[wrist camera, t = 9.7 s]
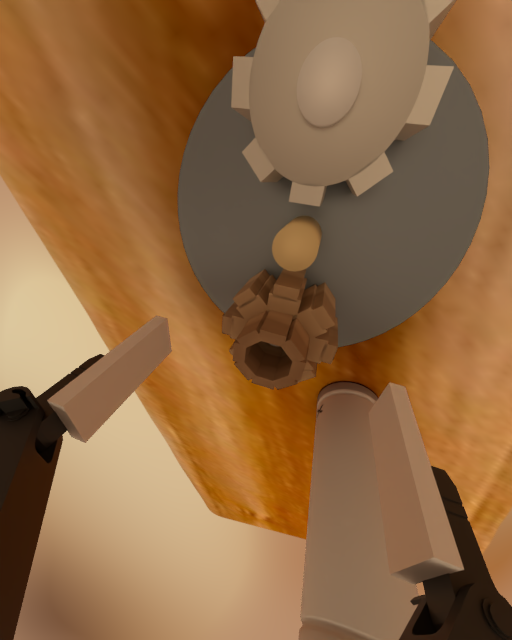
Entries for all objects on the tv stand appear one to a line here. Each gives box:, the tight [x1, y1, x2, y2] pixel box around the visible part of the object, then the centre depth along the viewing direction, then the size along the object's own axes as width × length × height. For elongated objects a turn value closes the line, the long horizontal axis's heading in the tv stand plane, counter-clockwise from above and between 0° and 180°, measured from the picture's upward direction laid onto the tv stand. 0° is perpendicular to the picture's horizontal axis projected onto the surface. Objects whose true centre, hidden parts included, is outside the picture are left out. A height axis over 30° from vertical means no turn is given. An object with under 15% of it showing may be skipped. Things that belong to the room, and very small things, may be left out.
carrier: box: [178, 0, 489, 347], centre depth 15 cm, size 21×20×6 cm
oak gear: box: [222, 269, 338, 390], centre depth 17 cm, size 8×8×6 cm
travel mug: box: [299, 382, 418, 640], centre depth 17 cm, size 6×7×20 cm
